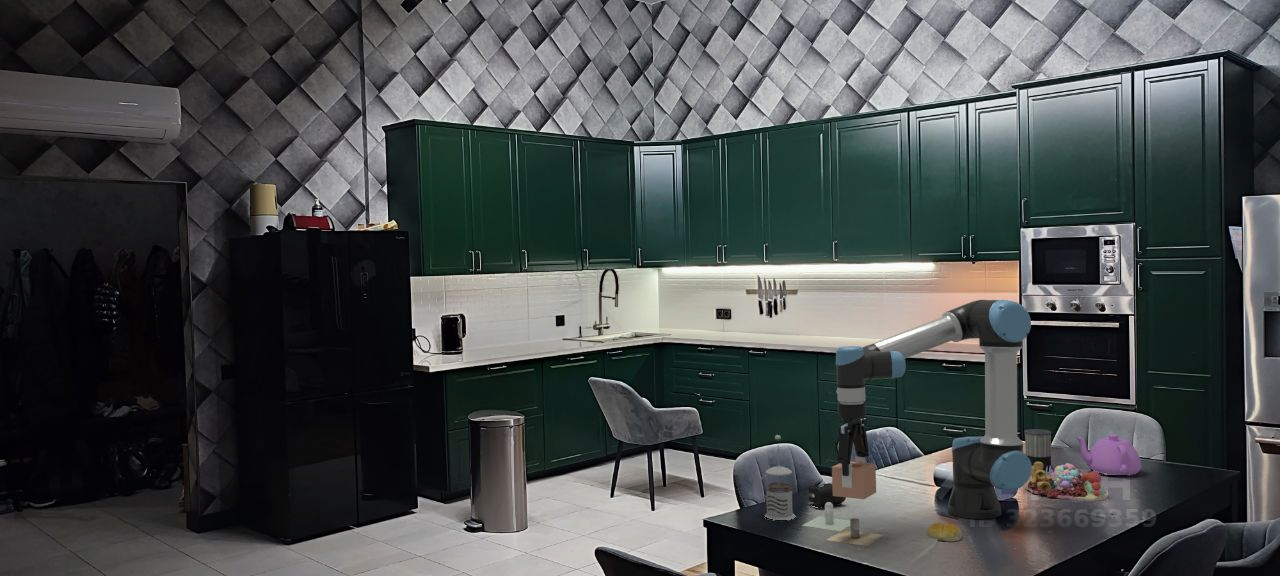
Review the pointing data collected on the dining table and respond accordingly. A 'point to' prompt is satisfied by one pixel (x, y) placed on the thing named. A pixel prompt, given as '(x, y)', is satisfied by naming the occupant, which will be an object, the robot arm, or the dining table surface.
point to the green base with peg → (828, 520)
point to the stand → (855, 535)
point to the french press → (778, 494)
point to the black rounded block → (823, 495)
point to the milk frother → (1038, 447)
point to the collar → (855, 481)
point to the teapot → (1111, 456)
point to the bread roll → (944, 532)
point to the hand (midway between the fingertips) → (854, 483)
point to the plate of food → (1066, 483)
